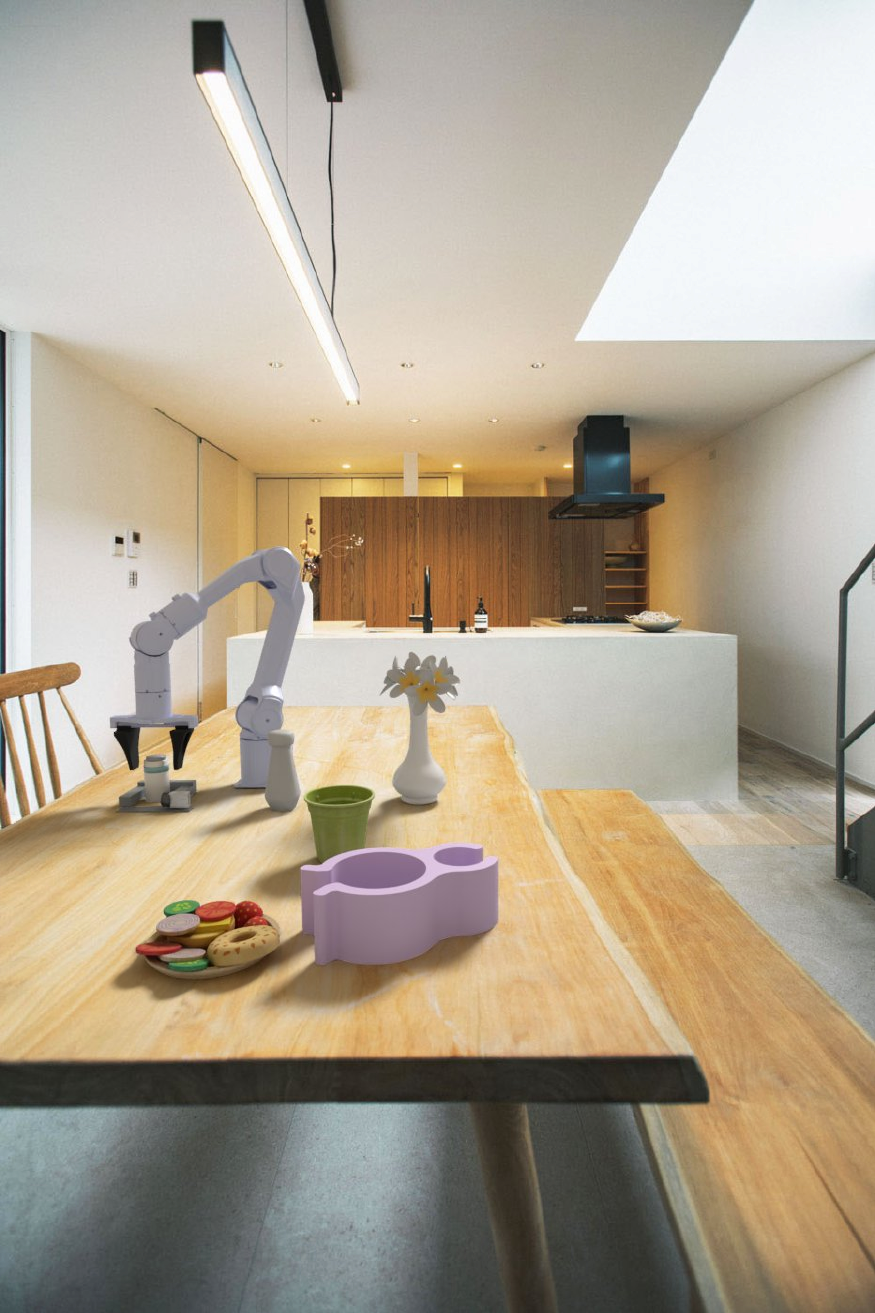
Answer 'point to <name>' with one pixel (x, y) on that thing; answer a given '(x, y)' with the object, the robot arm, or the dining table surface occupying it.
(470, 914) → the clip
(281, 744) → the salt shaker
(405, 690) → the flower vase
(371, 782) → the dining table surface
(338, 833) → the plant pot
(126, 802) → the housing
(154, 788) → the white cylinder
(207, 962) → the toy food set
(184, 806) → the latch pin
